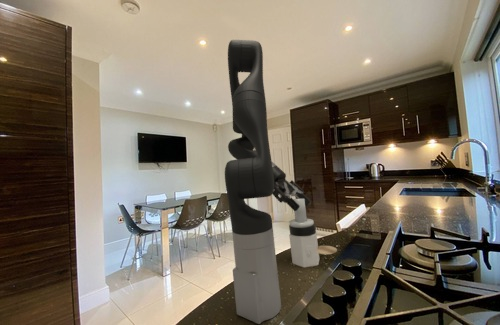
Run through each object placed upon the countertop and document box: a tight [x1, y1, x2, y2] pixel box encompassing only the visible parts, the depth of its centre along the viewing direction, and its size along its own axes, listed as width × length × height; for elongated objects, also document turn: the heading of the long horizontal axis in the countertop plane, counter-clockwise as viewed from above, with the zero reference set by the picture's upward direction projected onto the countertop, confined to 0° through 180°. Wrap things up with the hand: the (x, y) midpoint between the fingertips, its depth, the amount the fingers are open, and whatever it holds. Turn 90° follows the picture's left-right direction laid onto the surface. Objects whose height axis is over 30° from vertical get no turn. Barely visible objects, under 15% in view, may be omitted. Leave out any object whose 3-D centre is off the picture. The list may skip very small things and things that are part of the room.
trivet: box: [318, 245, 338, 255], centre depth 73 cm, size 8×8×1 cm
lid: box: [288, 198, 315, 228], centre depth 67 cm, size 8×8×8 cm
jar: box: [288, 223, 320, 268], centre depth 66 cm, size 9×8×12 cm
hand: (303, 206), depth 66 cm, fingers open, 8 cm apart
